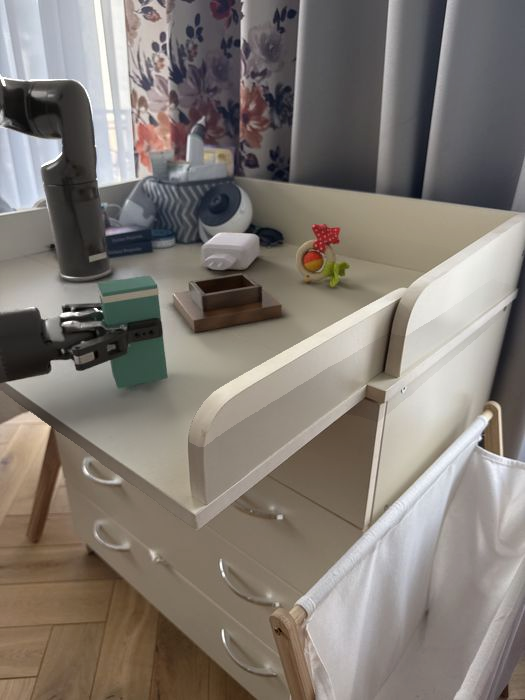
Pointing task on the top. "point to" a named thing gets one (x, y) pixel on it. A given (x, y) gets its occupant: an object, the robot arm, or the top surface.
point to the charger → (230, 251)
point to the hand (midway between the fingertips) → (156, 320)
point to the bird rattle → (314, 260)
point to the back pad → (129, 306)
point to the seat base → (225, 302)
